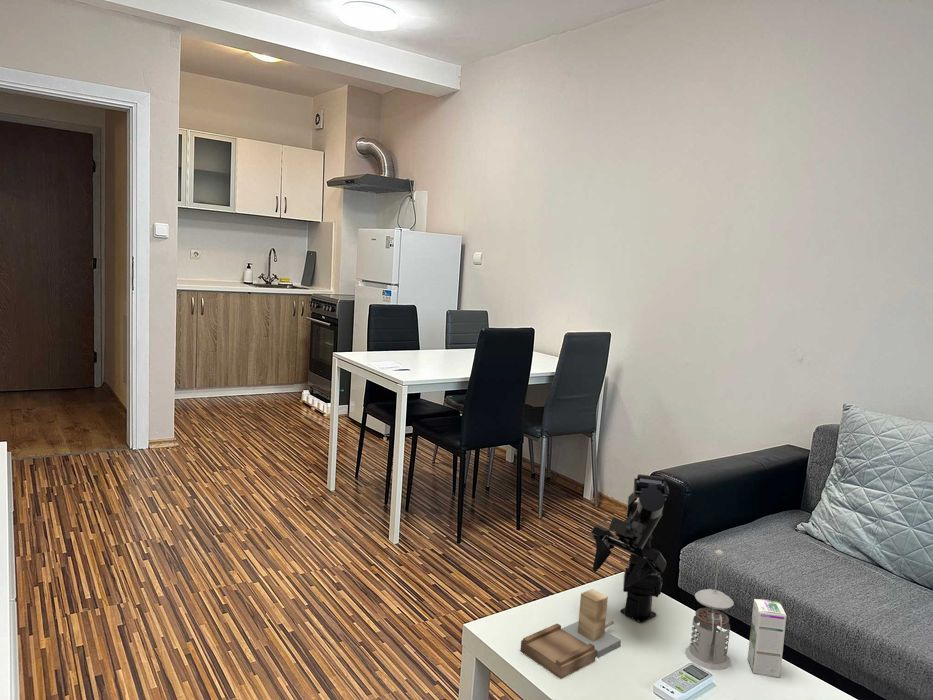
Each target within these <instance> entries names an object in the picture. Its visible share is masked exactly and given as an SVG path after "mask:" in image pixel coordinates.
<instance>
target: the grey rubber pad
mask: <svg viewBox="0 0 933 700" xmlns="http://www.w3.org/2000/svg"><path fill="white" fill-rule="evenodd" d="M578 623H579V620H577V621H575V622H573V623H570V624H568V625H567V626H564V627H561V629H562V630H563V631H565V632H567V633H568V634H570V635H572V636H573V637H575V638H577V639H578V640H580V641H582V642H583V643H585V644H587V645H588V644H590V643H591V644H593V645H594V646H595V648H594V649H595V650H596V658H600V657H602V656H604V655H605V654H608V653H610V652H612V651H614V650H616V649H617V648H619V647H621V646H622V645H621V644H622V639H620V638H619V637H617V636H615V635H613V634H612V633H609V632H608V631H606V630H605V634H604V636H603V637H601V638H599V639H597V640H595V641H591V640H589V639H588V638H586V637H584V636H583V635H581V634H579V633H578Z"/></svg>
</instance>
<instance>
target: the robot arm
mask: <svg viewBox="0 0 933 700" xmlns="http://www.w3.org/2000/svg"><path fill="white" fill-rule="evenodd" d="M632 489H633V492H632V493H631V494H630V495H629V496H628V497H627V507H626V517H625V519H624V520H622V519H620V518H617V517H614V516H613V517H612V519H611V521H610V525H609V526H608V528H606V527H603V526H601V525H595V526H593V527H592V529H591V531H590V535H591V537H592V538H593V540H594V542H595V545H596V550H595V555H594V556H595V557H594V560H593V566H592V571H593V572H594V573H596V572H597V571H598V570H599V569H600V568H601V567H602V565H604V563H605V562H606V561H607V560H608V558H609V557H610V555H611V554H612V549H614V547H616V548H618V549H620V550H622V551H625V552H626V553H629V559H628V563H627V564H628V565H627V567H625V568H624V572H623V573H624V574H623V582H622V583H623V586H622V587H623V589H622V591H623V593H626V600H625V607H623V608H621V609H620V613H622V614H623V615H626V616H627V617H629V618H631V619H633V620H634V621H637V622H638V623H645V622H646V621H648V620H650V619H653V618H654V617H656V616H657V613H656V612H654V611H652V605H653V604H652V603H653V597H655V598H659V595H661V594H662V586H663V581H664V579H663V578H662V576H661V574H664V572H665V569H666V568H667V565H668V564H667V561H666V560H667V559H665V558H664V556H663V555H662V553H661V552H660V551H659V550H657V549H656V548H653V547H651V541H652V539H653V538H654V536H653V534H652V533H653V531H654V529H655V528H656V526H657V524H658V522H659V521H660V519H661V518H662V516H663V510H664V508H665V507H664V506H665V502H666V501H667V499H669V497H670V489H669V486H668V485H667V481H664V477H663V476H656V475H648V474H641V473H640V474H637V477H635V478H634V479H633V488H632ZM637 499H638V501H637ZM612 531H613V532H615V533H614V534H615V535H616V537H615V536H614V534H612Z"/></svg>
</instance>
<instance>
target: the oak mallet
mask: <svg viewBox="0 0 933 700" xmlns="http://www.w3.org/2000/svg"><path fill="white" fill-rule="evenodd" d="M608 599H609V596H608V595H605V594H604V593H601V592H599V591H597V590H596V589H593V588H591V589H589V590H586V591H584V592H581V593H580V600H579V601H580V602H579V603H580V604H579V611H578V612H579V613H578V621H579V623H578V633H579V634H581V635H583V636H584V637H586V638H588V639H589V640H591V641H595V640H597V639H599V638H601V637H603V636H604V634H605V631H606V628H608V627H610V626H612V625H614V624H615V621H614V620H610V621H608V622H606V621H607V609H608Z"/></svg>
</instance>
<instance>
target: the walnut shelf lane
mask: <svg viewBox="0 0 933 700" xmlns="http://www.w3.org/2000/svg"><path fill="white" fill-rule="evenodd" d="M594 648H595V646H594V645H593V644H591V643H590V644H588V645H587V644H585V643H583V642H582V641H580V640H578V639H577V638H575V637H573V636H572V635H570V634H568V633H567V632H565V631H563V630H562V625H561V624H559V623H555V624H553V625H550V626H548V627H545V628H544V629H541V630H539V631H537V632H534V633H532V634H529V635H526V636H525V637H523V638H522V639H521V642H520V652H521V653H523V655H525V656H527V657H528V658H530V659H532V660H533V661H535V662H536V663H537V664H538V665H540V666H542V667H543V668H545V669H546V670H547V671H549V672H550V673H551V674H553V675H555V676H556V677H558V678H559V679H563V678H565V677H567V676H569V675H571V674H573V673H575V672H577V671H579V670H581V669H582V668H585V667H586V666H588V665H590V664H593V663H595V662H596V658H597V657H596V650H595V649H594Z"/></svg>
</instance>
